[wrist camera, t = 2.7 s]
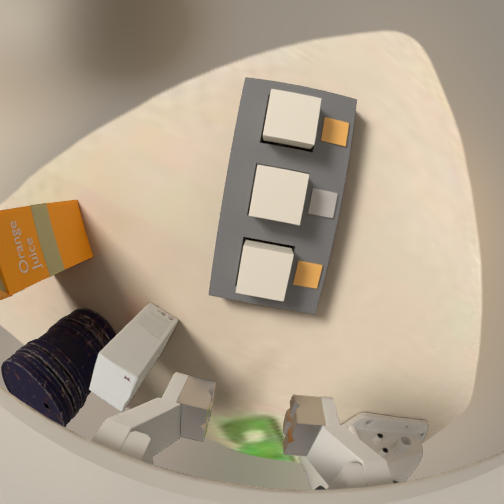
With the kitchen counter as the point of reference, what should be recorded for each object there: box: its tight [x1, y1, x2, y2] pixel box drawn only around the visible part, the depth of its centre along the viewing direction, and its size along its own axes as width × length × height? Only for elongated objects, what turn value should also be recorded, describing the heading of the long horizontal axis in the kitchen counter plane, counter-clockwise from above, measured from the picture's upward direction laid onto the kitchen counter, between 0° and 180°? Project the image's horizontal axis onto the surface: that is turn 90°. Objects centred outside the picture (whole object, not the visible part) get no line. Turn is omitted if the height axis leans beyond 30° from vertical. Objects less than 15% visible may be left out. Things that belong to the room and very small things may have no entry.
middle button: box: [249, 164, 309, 225], centre depth 25 cm, size 4×4×3 cm
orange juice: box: [0, 200, 94, 300], centre depth 21 cm, size 8×9×20 cm
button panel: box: [209, 77, 357, 314], centre depth 27 cm, size 11×22×3 cm, turn 170°
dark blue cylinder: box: [1, 309, 116, 427], centre depth 27 cm, size 10×10×15 cm
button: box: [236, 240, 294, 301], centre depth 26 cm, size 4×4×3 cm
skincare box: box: [89, 303, 179, 412], centre depth 27 cm, size 6×4×12 cm
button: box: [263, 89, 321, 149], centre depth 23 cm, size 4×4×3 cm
